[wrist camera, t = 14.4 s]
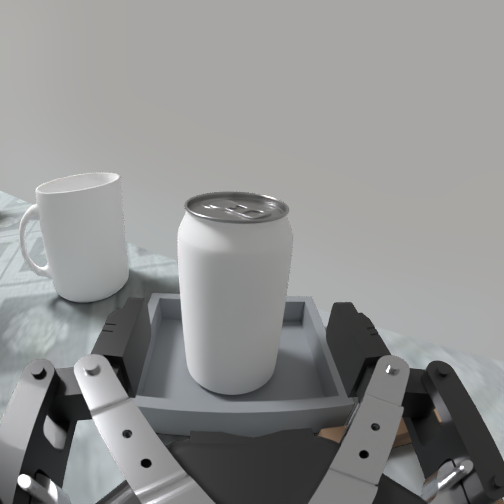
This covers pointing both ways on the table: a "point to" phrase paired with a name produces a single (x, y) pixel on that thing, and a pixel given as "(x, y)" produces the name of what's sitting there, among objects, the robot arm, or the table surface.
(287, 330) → the grey shallow rectangular tray
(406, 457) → the table surface
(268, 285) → the can
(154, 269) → the table surface
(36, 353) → the table surface
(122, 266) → the mug
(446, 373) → the robot arm
